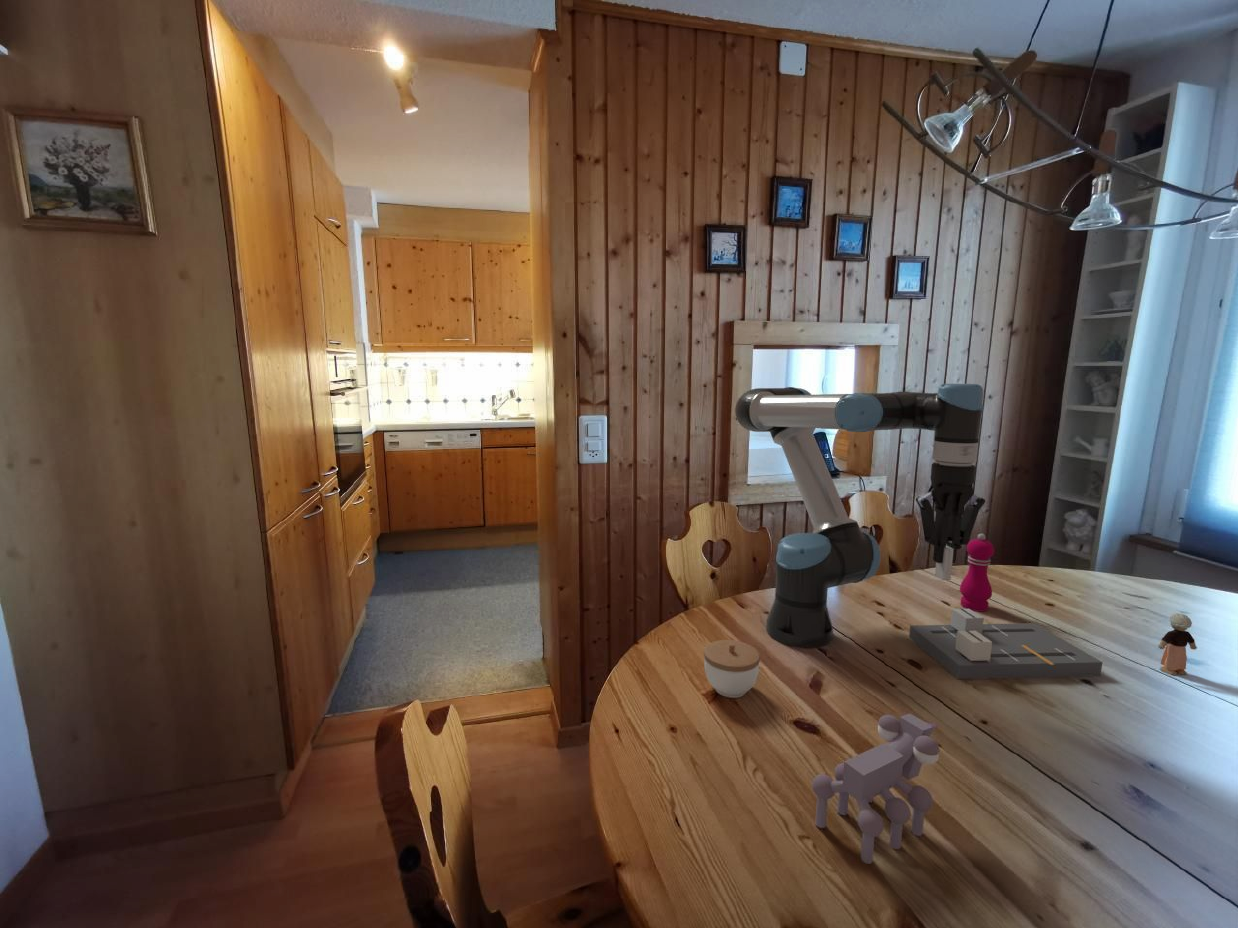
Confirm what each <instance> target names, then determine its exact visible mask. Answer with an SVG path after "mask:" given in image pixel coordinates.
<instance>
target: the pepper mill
mask: <svg viewBox="0 0 1238 928" xmlns="http://www.w3.org/2000/svg"><path fill="white" fill-rule="evenodd" d="M966 551H967V553H968V556H967V558H968V559H967V562H968V564H969V565H968V566H969V567H968V570H967V573H966V575H965V576H964V578H963V579H962V581H961V583H960V586H959V592H960V594H961V595H962V596H961V597H960V605H961V606H962V607H963V608H964V609H970V610H972V611H974V612H985V611H988V610H989V604H990V603H989V601H988V600H990V599H991V598H992V596H993V588H992V586H991V583H990V581H989V580H990V579H989V578H988V568H989V566H990V565H991V561H992V560H991V557H993V555H994V553H995V549H994V545H993V543H991V542H990V541H989V540H986V535H985V534H984V533H979V534H977V538H974V539H971V540H969V541H968V544H967V545H966Z"/></svg>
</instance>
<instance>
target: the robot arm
mask: <svg viewBox="0 0 1238 928" xmlns="http://www.w3.org/2000/svg"><path fill="white" fill-rule="evenodd" d="M983 401H984V388H983V387H982V385H980V384H978V383H942V384H940V385H939V386H938V390H937V392H934V393H931V392H930V393H929V392H917V391H916V392H915V391H914V392H912V391H906V390H905V391H893V392H882V393H881V392H875V393H874V392H873V393H872V392H871V393H870V392H869V393H866V392H854V393H832V394H831V393H830V394H829V393H827V394H826V393H825V394H821V393H819V394H812V393H811V392H809V391H808V390H806V389H804V388H800V387H794V386H788V387H787V386H786V387H770V388H769V387H768V388H767V387H764V388H763V387H761V388H753V389H749V390H747V391H745V392H744V393H743V394H741V395H740V397H738V400H737V401H736V404H735V409H734V413H735V418H736V421H737V422H738V423H739V425H740V426H741V427H742V428H744V429H745V430H747V431H750V432H755V433H764V432H765V433H767V432H768V433H769V434H770V436H771V438H772V441H773V443H774V444H776V445H779V446H781V448H782V451H783V453H784V455H785V458H786V460H787V461H786V462H787V463H788V466H789V468H790V471H791V474H792V477H793V478H794V481H795V483H796V486H797V489H798V491H799V494H800V496H801V499H802V501H803V503H804V506H805V508H806V511H807V514H808V517H809V518H810V521H811V524H812V527H813V531H812V532H804V533H803V532H797V533H791V534H788V535H786V536H784V537H783V538H782V539H780V541H779V542H778V544H777V553H776V555H775V557H776V558H775V559H776V560H775V561H776V563H775V564H776V569H775V572H776V573H775V592H774V594H775V595H774V600H773V603H772V606H771V608H770V610H769V612H768V615H767V618H766V621H765V622H766V625H765V626H766V627H765V628H766V629H765V630H766V632H767V635H769V636H770V637H771V638H773V639H774V640H776V641H777V642H780V643H783V644H786V645H789V646H793V647H799V648H819V647H824V646H826V645H828V644H830V643H831V642H832V641H833V636H834V635H833V634H834V626H833V623H832V620H831V617H830V612H829V609H828V606H827V605H828V604H827V602H828V601H827V600H828V590H829V588H834V587H839V586H844V585H848V584H852V583H853V584H855V583H857V584H858V583H859V582H862V581H865V580H868V579H870V578H871V577H873V576H874V575H875V574H876V573H877V572H878V570H879V566H880V564H881V561H882V560H881V559H882V558H881V557H882V556H881V554H882V553H881V548H880V545H879V544H878V542H877V540H876V539H875V537H874V536H873V535H870V534H869V533H868V532H865V531H862V530H861V528H860V525H859V523H858V520H857V521H856V519H853V518H850V517H849V516H848V513H847V511H846V509H845V506H844V504H843V502H842V500H841V497H840V495H839V492H838V490H837V487H836V485H835V483H834V480H833V478H832V475H831V473H830V471H829V469H828V466H827V463H826V461H825V459H824V457H823V454H822V452H821V450H820V447H819V445H818V442H817V440H816V438H815V435H814V432H815V430H816V429H823V430H824V429H825V430H826V429H827V430H842V431H843V430H844V431H846V432H852V433H853V432H854V433H867V432H873V431H888V430H889V431H891V430H893V431H894V430H907V429H909V430H911V429H914V430H925V431H927V430H928V431H934V432H933V433H934V435H933V436H934V437H933V446H932V447H933V448H932V457H931V458H932V461H934V462H933V463H931V468H930V469H931V470H930V482H931V484H930V486H929V488H928V489H927V490H928V491H927V493H926V494H924V495H923V496H917V497H916V498H915V502H916V503H917V505H918V507H919V510H920V516H921V517H920V518H921V523H922V529H923V538H924V541H925V542H926V543H928V544H929V545H930V544H931V545H932V546H933V556H932V559H933V561H934V563H935V569H934V570H935V571H934V576H936V578H939V579H940V580H942V581H951V579H952V571H953V570H952V569H953V564H955V563H956V561H957V553H958V552H957V551H958V550H960V549H962V546H963V545H964V546H967V545H968V543H969V542H970V539H971V535H972V532H973V529H974V527H975V524H976V520H977V518H978V515H979V512H980V509H982V507H983V506H984V504H985V503H986V499H985V498H983V497H980V496H978V495H977V494H975V490H974V488H973V487H974V486H973V484H975V481H976V472H977V467H976V465H975V463H977V461H978V450H979V440H980V438H979V436H980V429H981V428H980V427H981V422H982V421H981V420H982V414H983V410H984V405H983V404H984V403H983ZM933 504H934V509H933ZM934 512H935V515H934Z"/></svg>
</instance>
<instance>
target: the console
mask: <svg viewBox="0 0 1238 928" xmlns="http://www.w3.org/2000/svg"><path fill="white" fill-rule="evenodd" d="M957 631H958V630H957V629H955V628H954V627H952V626H951V624H928V625H926V624H923V625H919V624H918V625H917V624H916V625H910V626H909V632H908V633H909V634H908V639H910V640H911V641H912V642H914V643H915V644H916V645H917V646H918V647H919V648H921V650H923V651H924V652H926V654H928V655H929V656H930V657H931V658H933V659H934V660H935V661H936V662H937V663H938V664H940V666H942V667H943V668H944V669H945V670H947V671H948V672H949V673H950V674H951V675H952V676H954V677H955V678H956V679H957V680H975V679H976V680H978V679H984V680H985V679H1018V678H1020V679H1021V678H1023V679H1024V678H1027V679H1028V678H1053V677H1054V678H1061V677H1062V678H1063V677H1068V678H1069V677H1101V676H1102V675H1101V674H1102V669H1103V661H1101V660H1100V659H1097V658H1096V657H1094V656H1093V655H1091V654H1089V653H1087V652H1085V651H1084V650H1082V649H1080V648H1078V647H1077V646H1075V645H1073V644H1072V643H1070V642H1068V641H1067V640H1064V639H1063V638H1061V637H1059V636H1057V635H1056V634H1054V633H1052V632H1051V631H1049V630H1047V629H1045V628H1044V627H1041V626H1040V625H1038V624H1037V623H1034V622H1030V623H1029V622H1028V623H1027V622H1025V623H983V629H982V635H983V636H984V637H985V638H987V639H988V640H990V641H991V642H992V647H991V656H990V660H982V661H971V660H969V659H968V658H967V657H965V656H964V655H963V654H962V653H960V652H959V651H958V650H956V649H955V648H956V638H957Z"/></svg>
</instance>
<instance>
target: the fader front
mask: <svg viewBox="0 0 1238 928" xmlns="http://www.w3.org/2000/svg"><path fill="white" fill-rule="evenodd" d="M991 647H992V642H991V641H990V640H988V639H987V638H985V637H984V636H983V635H981V634H980V633H978V632H977V631H957V638H956V648H955V649H956V650H958V651H959V652H960V653H962V654H963V655H964V656H965V657H967V658H968V659H969V660H971V661H982V660H990V656H991Z"/></svg>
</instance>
